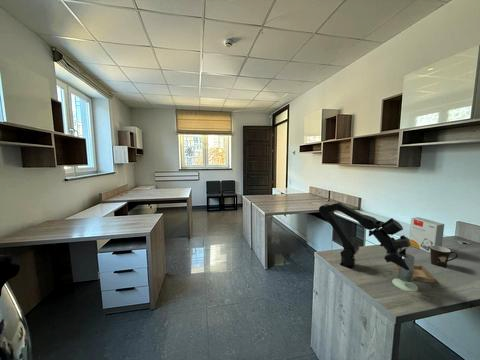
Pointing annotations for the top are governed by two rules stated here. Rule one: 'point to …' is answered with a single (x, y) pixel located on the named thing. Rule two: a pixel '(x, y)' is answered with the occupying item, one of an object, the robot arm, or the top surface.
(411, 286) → the drink coaster
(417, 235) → the hard drive box
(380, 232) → the robot arm
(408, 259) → the grey round cylinder
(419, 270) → the light wooden tray
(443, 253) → the coffee mug
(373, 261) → the top surface
